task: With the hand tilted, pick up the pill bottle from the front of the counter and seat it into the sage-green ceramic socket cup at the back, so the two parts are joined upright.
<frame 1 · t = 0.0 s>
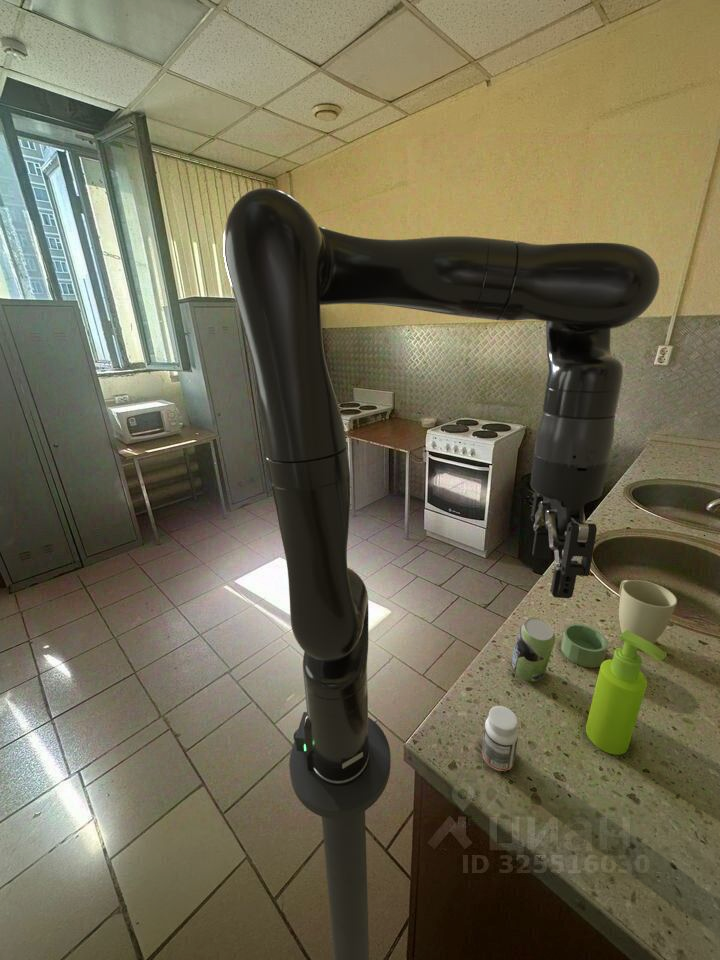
hand: (550, 575, 50), 32 cm above the counter, tool pointing down, fingers open, 8 cm apart
soap dispenser: (609, 740, 63), on the counter
pill bottle: (497, 757, 61), on the counter
beverage can: (528, 674, 75), on the counter
holder: (581, 652, 80), on the counter
mug: (631, 637, 84), on the counter
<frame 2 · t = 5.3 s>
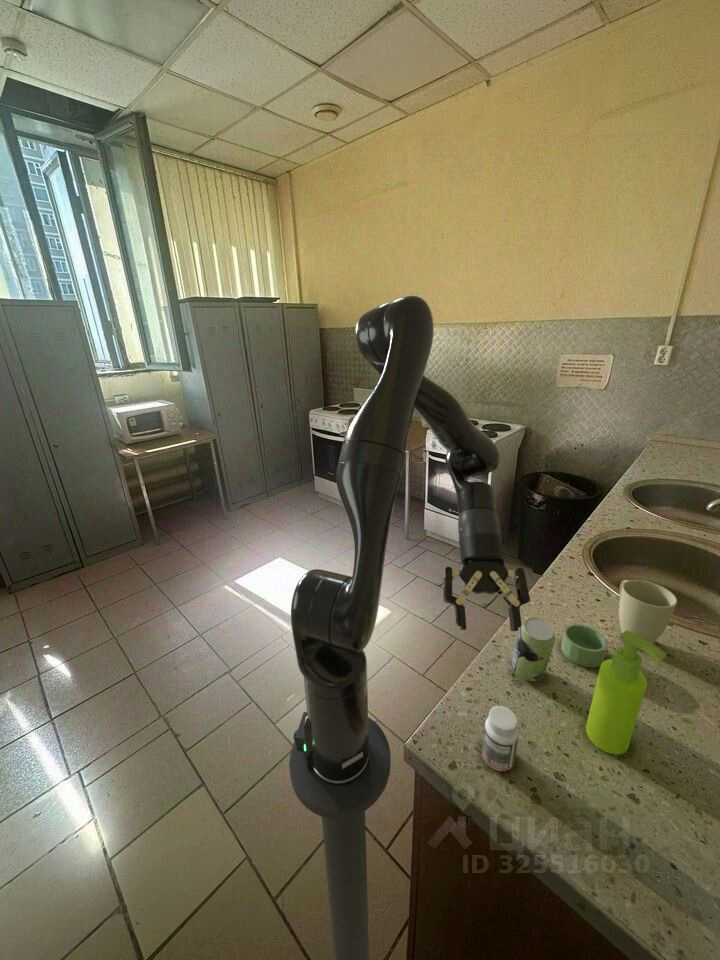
hand: (488, 630, 66), 14 cm above the counter, tool tilted 45°, fingers open, 8 cm apart
nothing on the counter moved.
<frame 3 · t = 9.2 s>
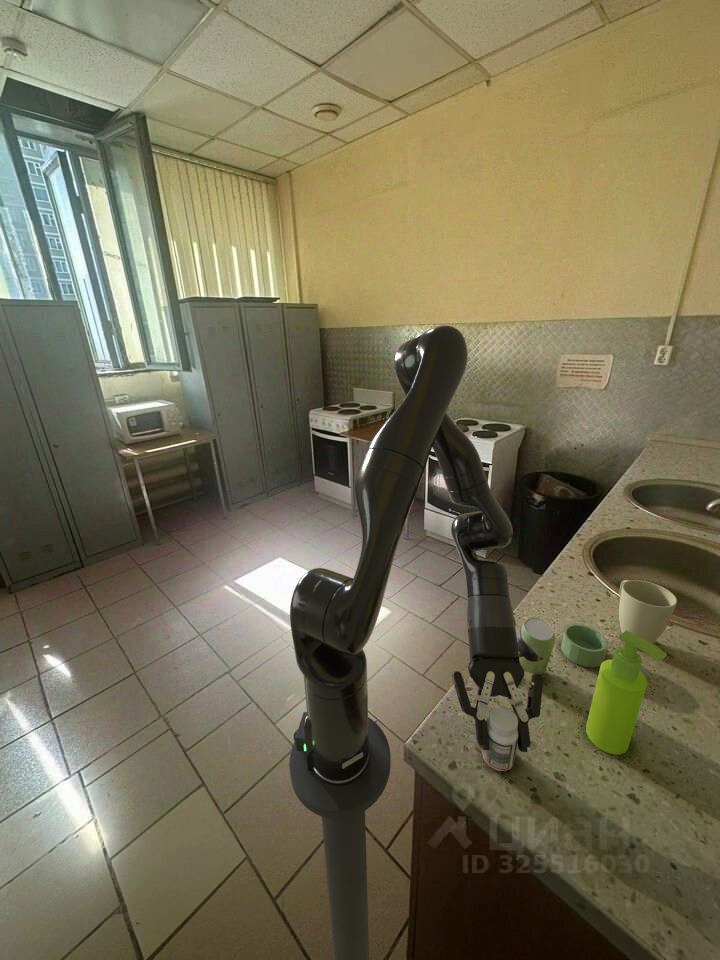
hand: (503, 749, 58), 4 cm above the counter, tool tilted 45°, fingers closed on pill bottle, 4 cm apart
pill bottle: (497, 757, 61), on the counter, touching gripper
everything else where it was.
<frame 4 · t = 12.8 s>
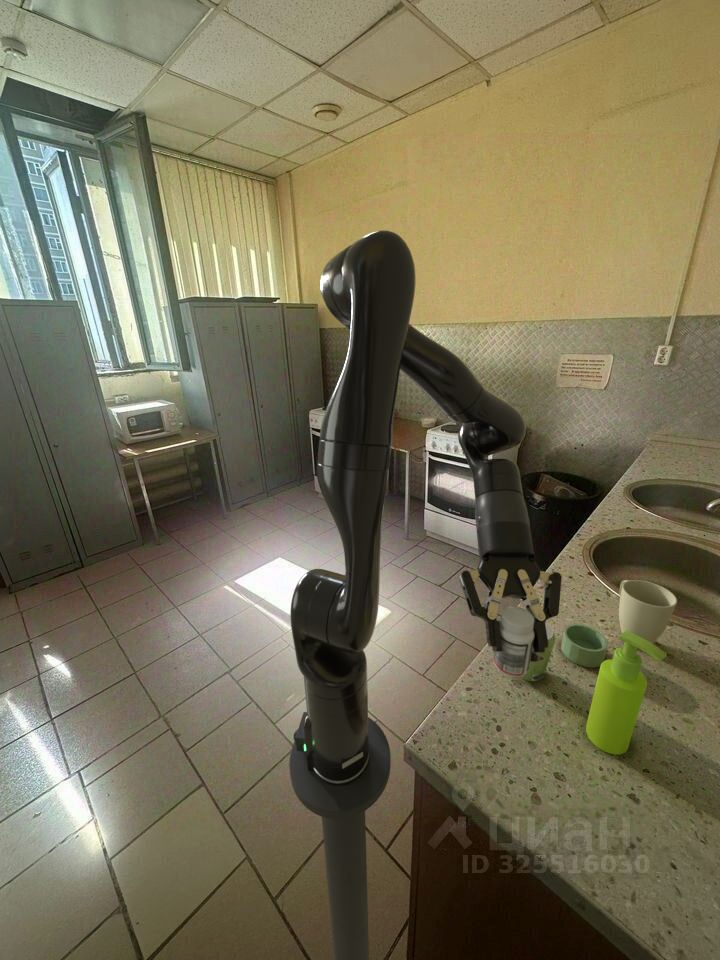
hand: (518, 651, 51), 22 cm above the counter, tool tilted 45°, fingers closed on pill bottle, 4 cm apart
pill bottle: (510, 665, 55), point 18 cm above the counter, touching gripper
everything else where it was.
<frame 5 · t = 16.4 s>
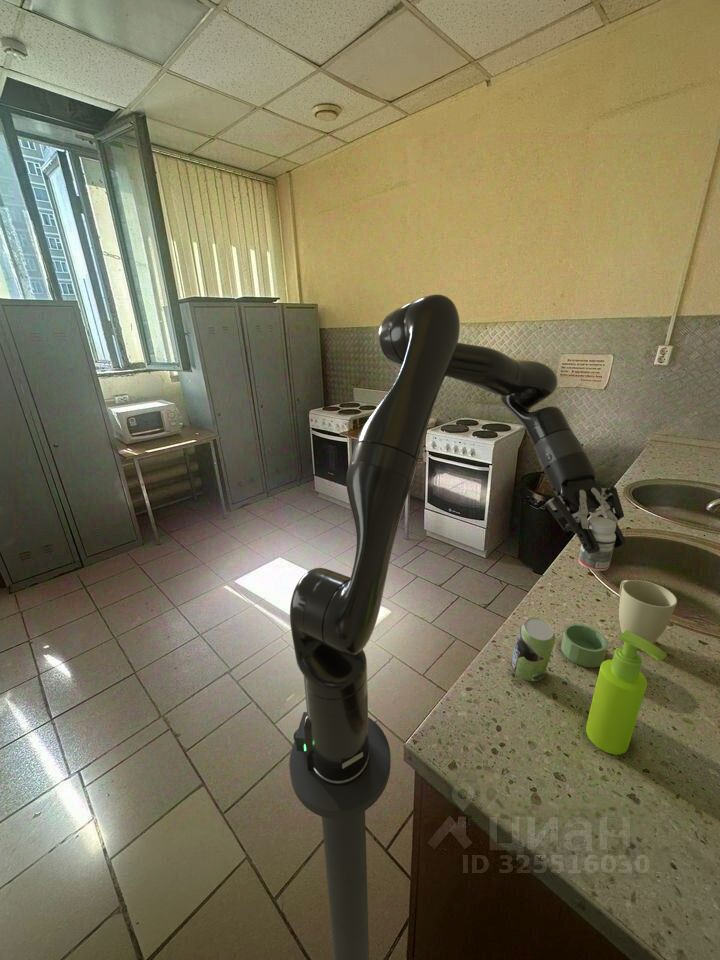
hand: (606, 548, 66), 27 cm above the counter, tool tilted 45°, fingers closed on pill bottle, 4 cm apart
pill bottle: (593, 565, 69), point 23 cm above the counter, touching gripper
everything else where it was.
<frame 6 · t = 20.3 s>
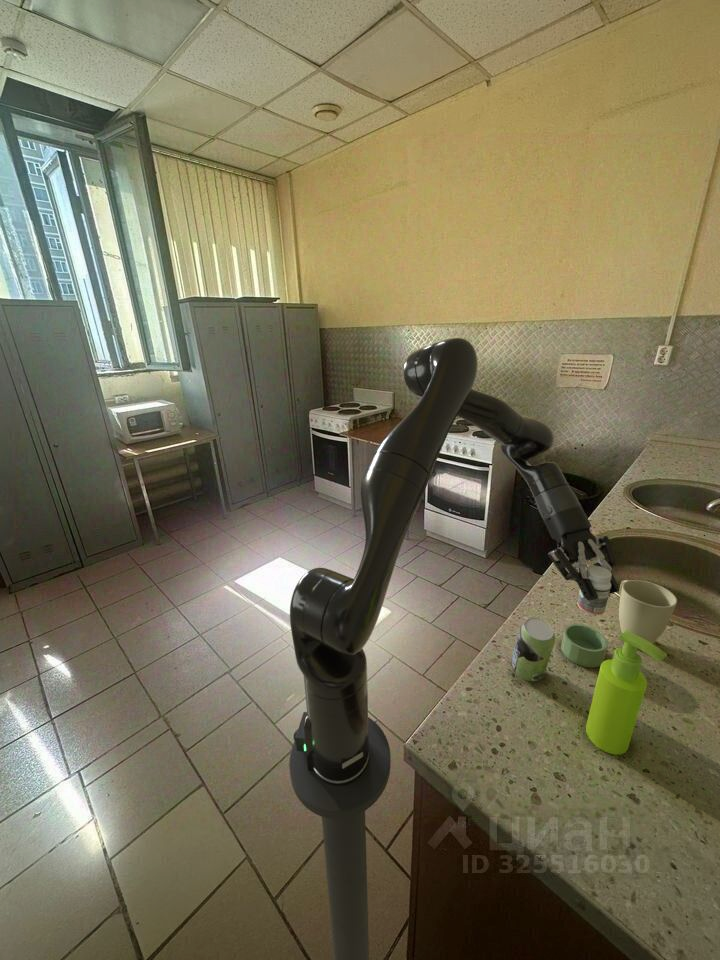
hand: (603, 595, 73), 15 cm above the counter, tool tilted 45°, fingers closed on pill bottle, 4 cm apart
pill bottle: (590, 608, 76), point 11 cm above the counter, touching gripper
everything else where it was.
when the fingers open (5 cm above the counter, at t = 23.5 s): pill bottle stays where it is, resting on holder.
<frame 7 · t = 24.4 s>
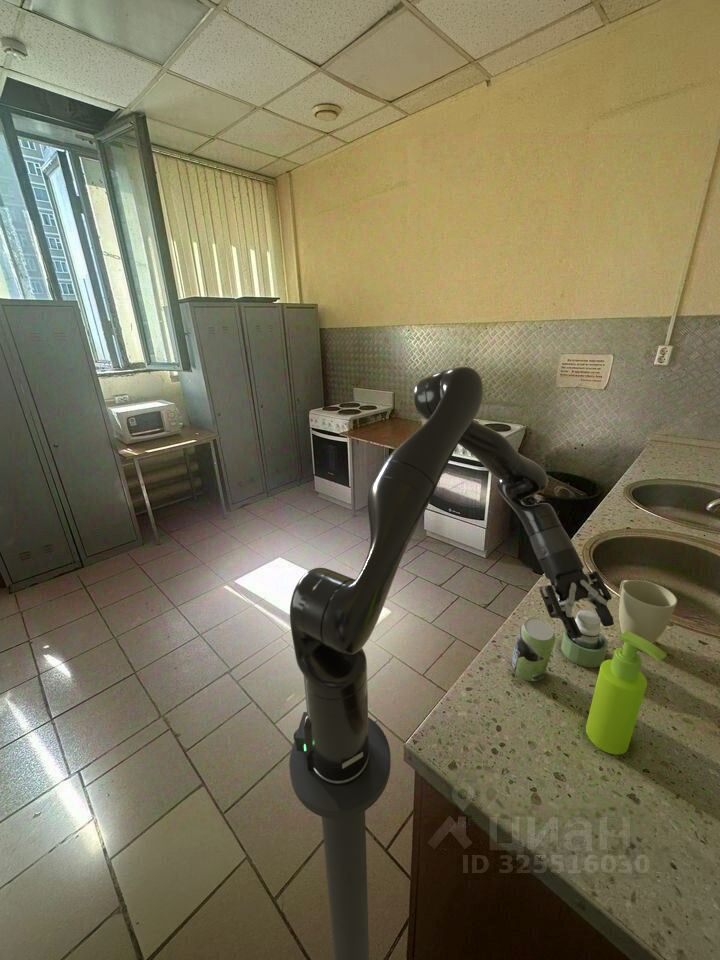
hand: (593, 631, 76), 6 cm above the counter, tool tilted 45°, fingers open, 8 cm apart
pill bottle: (581, 650, 80), resting on holder
everything else where it was.
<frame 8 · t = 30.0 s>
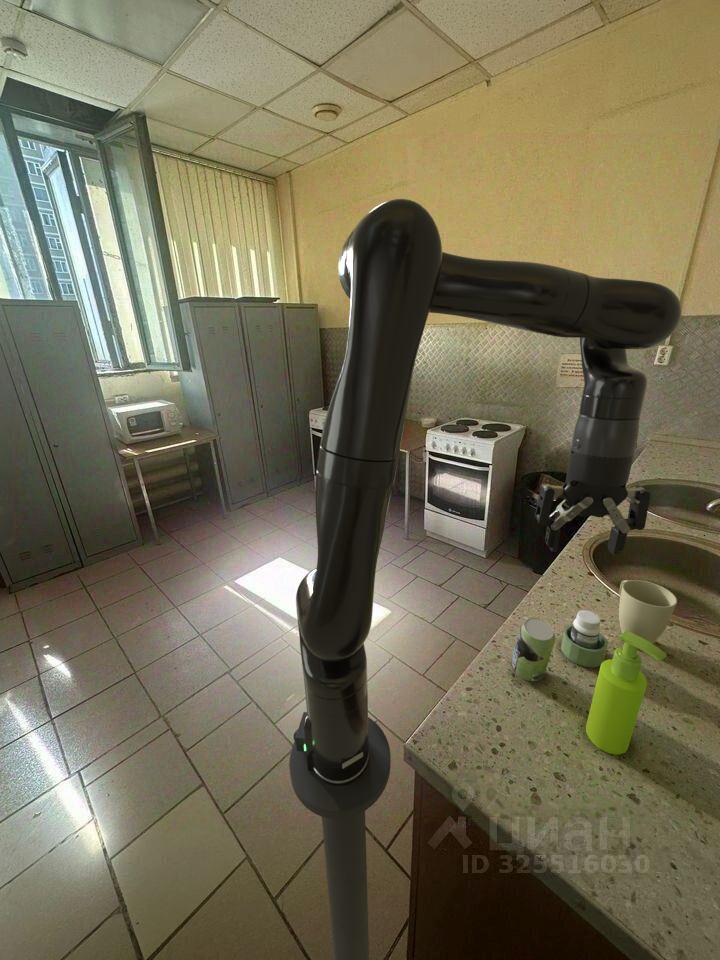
hand: (581, 550, 60), 30 cm above the counter, tool pointing down, fingers open, 8 cm apart
nothing on the counter moved.
at the end: pill bottle 0.2 cm off-centre in the holder, point 0.3 cm above the holder's base; pill bottle tilted 0°; the gripper is holding nothing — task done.
